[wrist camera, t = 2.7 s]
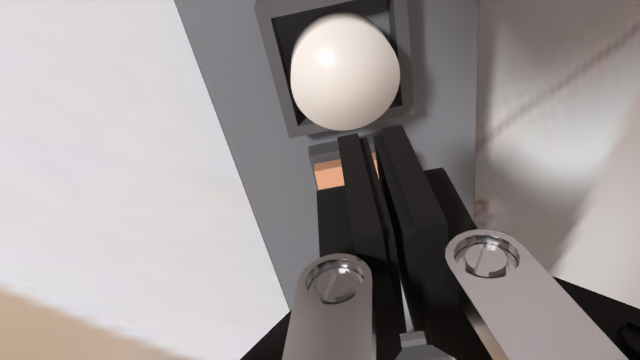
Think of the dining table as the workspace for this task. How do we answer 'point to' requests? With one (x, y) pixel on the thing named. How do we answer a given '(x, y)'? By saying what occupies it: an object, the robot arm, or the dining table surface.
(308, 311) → the robot arm
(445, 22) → the switch panel
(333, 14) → the white dome button
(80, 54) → the dining table surface
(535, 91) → the dining table surface
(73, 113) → the dining table surface
